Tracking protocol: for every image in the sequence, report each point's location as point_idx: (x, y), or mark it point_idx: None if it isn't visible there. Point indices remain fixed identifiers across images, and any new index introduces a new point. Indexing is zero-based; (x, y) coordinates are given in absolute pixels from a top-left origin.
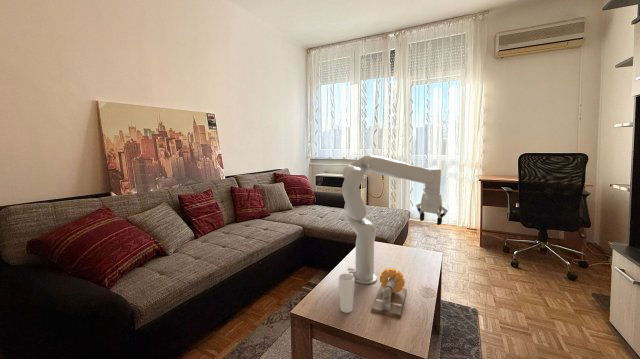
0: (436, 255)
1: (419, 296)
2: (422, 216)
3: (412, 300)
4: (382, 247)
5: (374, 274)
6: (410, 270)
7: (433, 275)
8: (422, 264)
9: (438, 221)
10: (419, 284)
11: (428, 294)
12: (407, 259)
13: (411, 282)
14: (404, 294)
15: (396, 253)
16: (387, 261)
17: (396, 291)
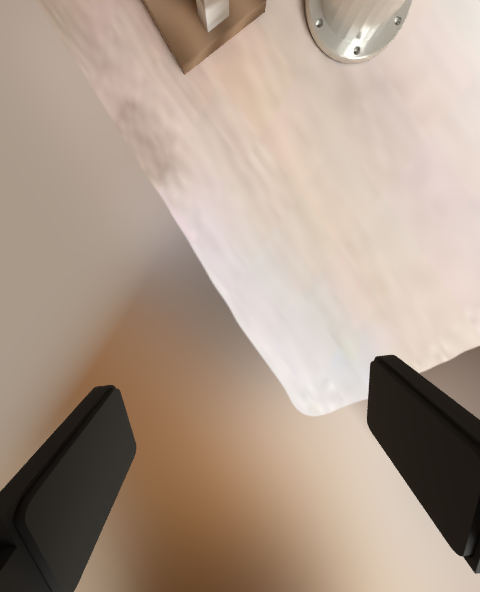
0: (295, 401)
1: (138, 89)
2: (424, 439)
3: (130, 37)
4: (470, 310)
5: (343, 53)
6: (281, 235)
7: (211, 270)
8: (284, 309)
9: (57, 435)
10: (196, 170)
11: (132, 133)
12: (342, 300)
13: (221, 157)
14: (155, 13)
15: (399, 309)
16: (383, 224)
17: (189, 3)
